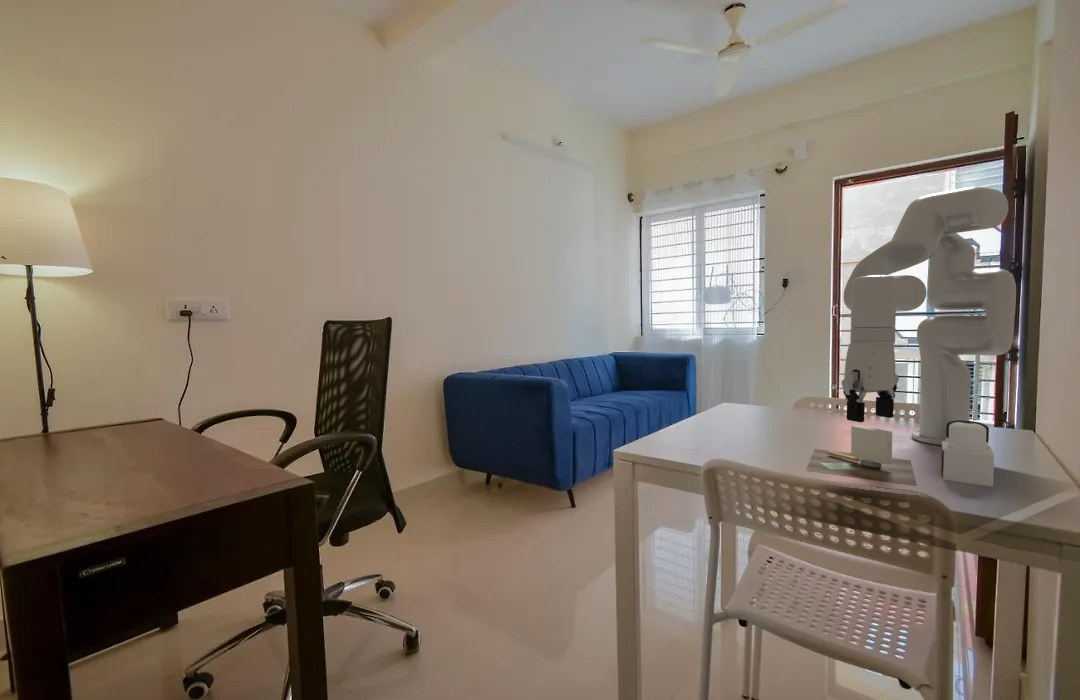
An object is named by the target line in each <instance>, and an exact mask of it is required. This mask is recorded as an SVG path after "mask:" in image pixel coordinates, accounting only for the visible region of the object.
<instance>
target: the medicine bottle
mask: <svg viewBox="0 0 1080 700" xmlns="http://www.w3.org/2000/svg"><path fill="white" fill-rule="evenodd" d="M989 438H990V427H989V426H988V425H986V424H984V423H982V422H979V421H973V420H969V421H965V420H955V421H951V422H948V423H947V424H946V441H943V442H942V445H941V454H940V455H941V459H940V461H941V462H940V463H941V464H940V466H941V467H940V471H941V472H940V473H941V479H942V480H945V481H952V482H959V483H967V484H973V485H978V486H979V485H980V486H985V487H993V486H994V478H995V477H994V473H995V472H994V471H995V454H994V453H993V450H992V448H991V446H990V445H989V444H990V443H989Z"/></svg>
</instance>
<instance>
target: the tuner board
mask: <svg viewBox="0 0 1080 700" xmlns="http://www.w3.org/2000/svg"><path fill="white" fill-rule="evenodd" d="M828 451H830V450H826V449H818V448H814V450H813V452H812V454H811V456H810V460H809V461H808V464H807V467H806V469H805V471H807V472H814V473H821V474H828V475H837V476H840V477H841V476H842V477H850V478H857V479H864V480H871V481H878V482H885V483H886V482H887V483H892V484H898V485H899V484H900V485H908V486H913V487H917V485H918V484H917V483H916V482H917V481H916V477H915V474H914V470H913V469H914V468H913V466H912V461H911V459H908V458H907V459H905V458H897V457H892V463H891V464H887V465H886V464H882V463H881V467H880V468H871V467H866V466H863V465H861V464H860V460H862V458H859V461H857V462H856V461H852V460H848V459H844V458H840V457H837V456H833V455H829V454H828ZM831 451H832V452H836V453H840V454H844V455H848V456H851V452H845V451H837V450H831ZM852 457H854V456H852ZM856 458H858V457H856Z"/></svg>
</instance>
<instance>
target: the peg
mask: <svg viewBox="0 0 1080 700" xmlns="http://www.w3.org/2000/svg"><path fill="white" fill-rule="evenodd" d="M850 432H851V434H850V437H851V438H850V440H851V441H850V442H851V443H850V445H851V446H850V453H851V456H848V455H844V454H840V453H836V452H832V451H833V450H829V451H828V454H829V455H833V456H837V457H840V458H844V459H848V460H852V461H856V462H857V461H859V458H862V460H860V464H861V465H863V466H866V467H871V468H880V467H881V463H882V464H886V465H887V464H891V463H892V458H893V431H890V430H886V429H880V428H875V427H869V426H864V425H858V424H856V425H851V431H850ZM852 456H854V457H852ZM856 457H858V458H856Z"/></svg>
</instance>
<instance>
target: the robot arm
mask: <svg viewBox="0 0 1080 700" xmlns="http://www.w3.org/2000/svg"><path fill="white" fill-rule="evenodd" d="M1008 213H1009V202H1008V199H1007V197H1006V195H1005V194H1004V192H1002V191H1000V190H998V189H994V188H989V187H984V186H983V187H982V186H969V187H962V188H958V189H957V188H956V189H951V190H948V191H947V190H945V191H942V192H936V193H931V194H927V195H926V194H925V195H924V196H920V197H918V198H915V199H914V200H913V201H911V203H910V204H909V205H908V206H907V208H906V209H905V211H904V213H903V216H902V217H901V219H900V222H899V224H898V225H897V228H896V230H895V232H894V234H893V236H892V238H891V240H890V241H888V242H886V243H885V244H883V245H881V246H880V247H878V248H877V249H875V250H874V251H873V252H871V253H870V254H868V255H866V256H865V257H864V258H862V260H860V261H859V262H858V263H857V264H855V267H854V269H852V271H851V274H850V276H849V278H848V280H847V282H846V283H845V284H846V285H845V287H844V292H843V302H844V305H845V306H846V308H847V309H848V310H850V340H849V344H848V348H847V351H846V357H845V366H844V377H843V379H842V380H841V386H842V387H841V388H842V389H843V392H842V393H843V395H844V396H845V397H844V399H845V401H846V420H847V421H851V422H857V423H864V422H865V407H866V406H865V405H866V403H865V402H863V401H864V399H865V397H866V395H867V393H868V394H869V393H876V394H877V396H876V397H875V415H876V416H877V417H883V418H890V419H892V418H893V417H894V410H895V408H894V405H895V399H896V391H897V389H898V383H899V380H900V377H899V376H898V375H897V374H896V355H895V347H894V344H896V319H897V318H896V315H897V312H910V311H913V310H916V309H918V308H919V307H921V306H922V304H923V303H924V302H925V300H926V298H927V302H928V304H929V306H930V307H931V308H933V309H935V310H940V311H971V310H972V311H973V310H974V311H976V310H978V311H979V310H981V311H985V314H984V315H983V314H981V315H978V314H977V315H974V314H970V315H964V314H963V315H961V314H960V315H959V314H957V315H953V314H951V315H936V316H930V317H927V318H925V319H923V320H921V321H920V323H919V324H918V326H917V328H916V339H917V344H918V349H919V355H920V356H919V358H920V400H919V430H915V431H913V432H912V433H911V438H913V439H914V440H916V441H919V442H922V443H925V444H930V445H937V446H942V442H943V441H946V424H947V423H948V422H951V421H955V420H965V421H970V411H971V410H970V409H971V406H970V405H971V381H972V379H971V378H972V377H971V376H972V375H971V371H970V369H969V367H968V365H967V364H966V363H965V362H964V361H963V359H961V358H960V357H959V356H960V355H961V356H964V355H965V356H966V355H967V356H968V355H969V356H970V355H971V356H1001V355H1004V354H1006V353H1008V352H1009V351H1010V349H1011V347H1012V345H1013V340H1014V333H1015V318H1016V317H1015V315H1016V302H1017V301H1016V300H1017V299H1016V298H1017V286H1016V281H1015V278H1014V275H1013V273H1011V272H1010V271H1008V270H1006V269H1005V268H1004V269H1003V268H988V269H986V268H984V269H975V262H976V261H975V258H976V251H975V250H976V249H975V248H974V247H973V245H972V244H971V243H970V242H969V241H968V240H966V239H965V237H962V235H960V234H959V233H966V232H973V231H980V230H981V231H982V230H987V229H994V228H997V227H999V226H1001V225H1002V223H1003V222H1004V221H1005V220H1006V219H1007V217H1008ZM928 260H929V267H928V282H927V287H926V285H925V283H924V282H923V280H922V279H920V278H919V277H917V276H914V275H906V274H905V275H892V274H894V273H897V272H900V271H902V270H903V271H904V270H906V269H909V268H911V267H914V266H916V265H919V264H921V263H923V262H926V261H928Z"/></svg>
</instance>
